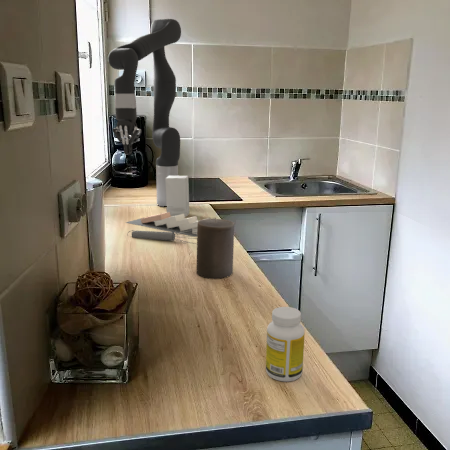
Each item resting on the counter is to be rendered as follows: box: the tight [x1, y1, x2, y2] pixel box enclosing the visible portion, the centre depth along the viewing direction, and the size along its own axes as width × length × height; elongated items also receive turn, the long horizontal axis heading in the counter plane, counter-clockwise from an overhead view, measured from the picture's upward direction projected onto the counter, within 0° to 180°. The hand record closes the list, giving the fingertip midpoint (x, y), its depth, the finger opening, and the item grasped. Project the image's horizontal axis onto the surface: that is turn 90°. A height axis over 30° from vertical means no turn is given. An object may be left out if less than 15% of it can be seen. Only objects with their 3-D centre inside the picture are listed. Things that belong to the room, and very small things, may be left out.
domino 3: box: [167, 215, 199, 228], centre depth 169 cm, size 5×2×10 cm
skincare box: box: [165, 175, 190, 218], centre depth 190 cm, size 8×7×16 cm
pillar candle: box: [196, 217, 236, 279], centre depth 127 cm, size 10×10×15 cm
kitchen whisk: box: [126, 229, 197, 245], centre depth 155 cm, size 6×34×6 cm, turn 70°
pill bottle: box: [265, 306, 305, 382], centre depth 80 cm, size 6×6×11 cm
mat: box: [125, 217, 197, 236], centre depth 173 cm, size 10×32×1 cm, turn 57°
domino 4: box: [179, 217, 211, 231], centre depth 166 cm, size 5×2×10 cm
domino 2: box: [154, 214, 186, 226], centre depth 172 cm, size 5×2×10 cm
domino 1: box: [141, 212, 172, 223], centre depth 176 cm, size 5×2×10 cm
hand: (128, 154), depth 181 cm, fingers closed
